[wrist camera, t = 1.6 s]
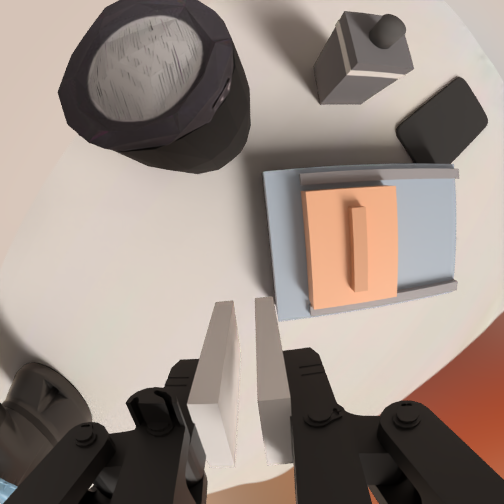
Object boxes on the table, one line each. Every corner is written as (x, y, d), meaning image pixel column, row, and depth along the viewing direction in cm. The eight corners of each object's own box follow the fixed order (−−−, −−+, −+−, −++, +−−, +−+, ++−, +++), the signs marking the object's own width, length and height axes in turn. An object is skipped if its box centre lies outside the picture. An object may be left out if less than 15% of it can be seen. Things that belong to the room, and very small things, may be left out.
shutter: (308, 299, 28) (316, 314, 24) (300, 191, 26) (308, 192, 22) (386, 287, 28) (401, 300, 24) (383, 185, 25) (401, 186, 22)
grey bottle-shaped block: (319, 105, 28) (369, 50, 14) (313, 66, 27) (353, -6, 13) (360, 104, 28) (431, 59, 13) (353, 66, 26) (413, 4, 12)
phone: (490, 122, 27) (430, 184, 29) (486, 123, 28) (426, 184, 30) (461, 74, 26) (394, 129, 28) (457, 75, 26) (391, 130, 28)
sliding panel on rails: (275, 305, 32) (279, 325, 28) (262, 173, 29) (264, 171, 25) (434, 281, 32) (456, 294, 27) (434, 164, 29) (458, 164, 24)
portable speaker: (185, 81, 27) (109, -28, 8) (266, 115, 28) (291, 14, 9) (147, 153, 29) (19, 123, 10) (228, 190, 30) (188, 200, 11)
